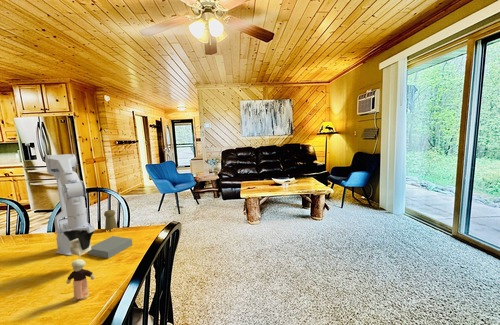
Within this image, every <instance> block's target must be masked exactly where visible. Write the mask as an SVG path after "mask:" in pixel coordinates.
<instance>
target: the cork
mask: <svg viewBox="0 0 500 325" xmlns="http://www.w3.org/2000/svg"><path fill="white" fill-rule="evenodd" d="M103 214H104V217H105V219H104V220H105V222H104V223H105V224H104V225H105V227H104V231H105V230H107V231H108V230H109V231H110V232H112V231H111V229H113V228H119V227H118V224H117V221H116V216H115V215H116V211H115V210H114V209H109V210H106V211H104V213H103Z"/></svg>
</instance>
